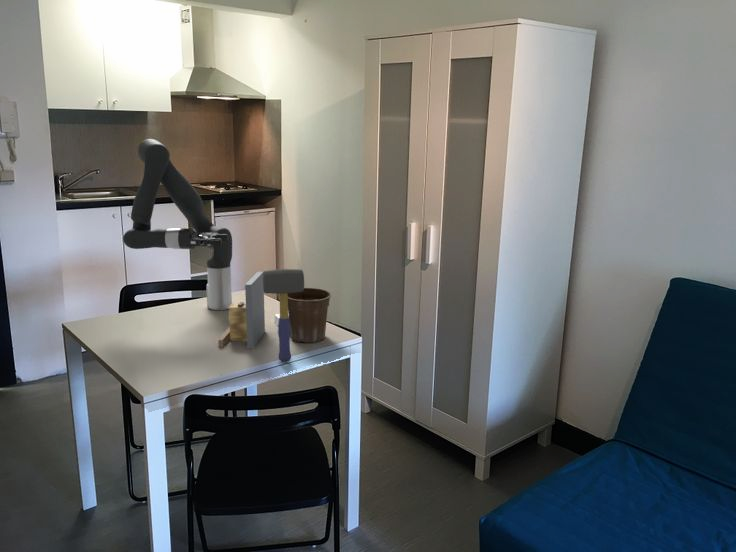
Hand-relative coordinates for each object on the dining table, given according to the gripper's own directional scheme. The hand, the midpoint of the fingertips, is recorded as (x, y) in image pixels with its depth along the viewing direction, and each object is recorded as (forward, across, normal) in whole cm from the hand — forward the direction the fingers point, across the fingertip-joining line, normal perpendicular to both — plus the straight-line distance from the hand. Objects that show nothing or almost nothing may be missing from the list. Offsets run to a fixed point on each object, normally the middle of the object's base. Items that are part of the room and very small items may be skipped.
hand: (224, 239), depth 219 cm
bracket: (+23, -1, +32) cm, 40 cm away
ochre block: (+9, -16, +32) cm, 37 cm away
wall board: (+10, -16, +32) cm, 37 cm away
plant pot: (+32, -13, +32) cm, 47 cm away
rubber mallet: (+28, -36, +32) cm, 56 cm away
